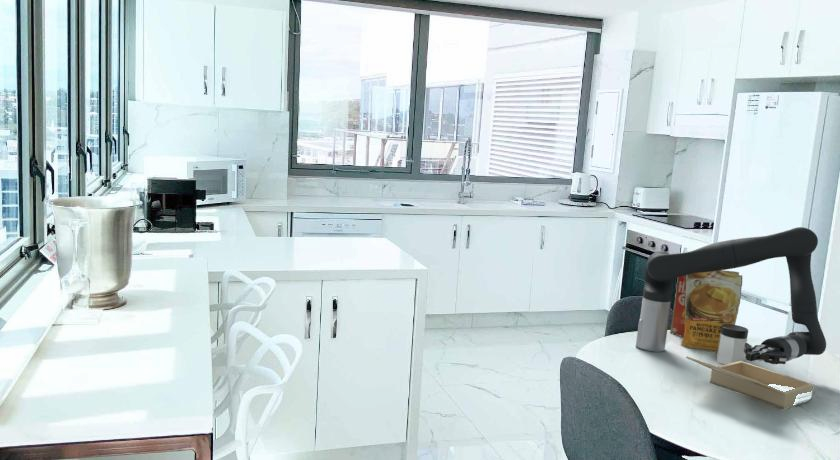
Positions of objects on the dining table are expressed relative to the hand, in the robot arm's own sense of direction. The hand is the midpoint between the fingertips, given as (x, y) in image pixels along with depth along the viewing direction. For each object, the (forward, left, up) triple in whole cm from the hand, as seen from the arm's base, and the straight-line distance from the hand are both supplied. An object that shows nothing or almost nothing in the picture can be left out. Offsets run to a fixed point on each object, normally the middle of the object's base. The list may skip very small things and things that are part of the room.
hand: (748, 357), depth 197 cm
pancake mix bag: (-11, +45, -12) cm, 48 cm away
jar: (-3, +32, -12) cm, 34 cm away
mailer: (+5, +8, -11) cm, 15 cm away
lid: (-3, -6, -4) cm, 8 cm away
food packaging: (-16, +59, -12) cm, 62 cm away
